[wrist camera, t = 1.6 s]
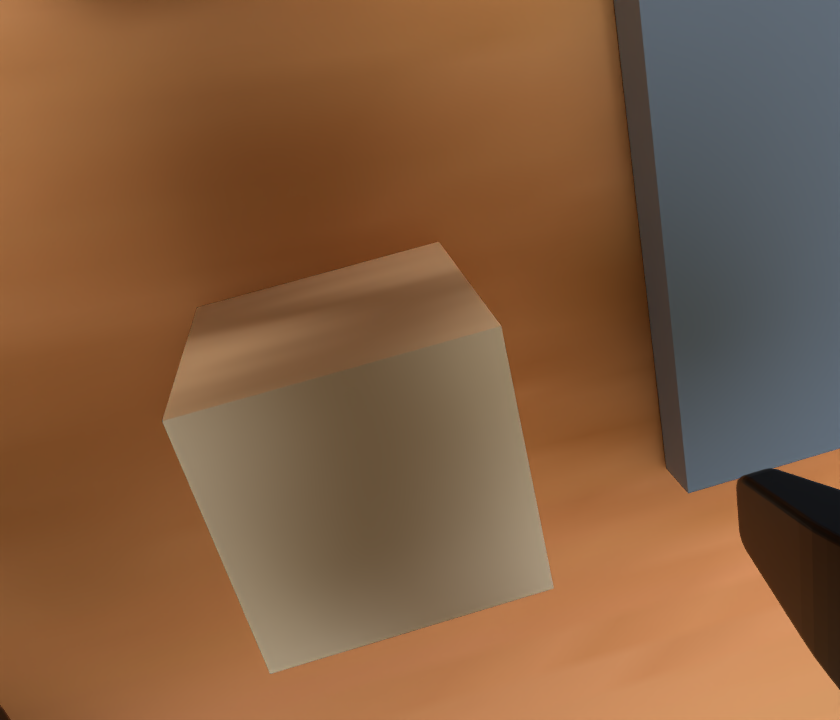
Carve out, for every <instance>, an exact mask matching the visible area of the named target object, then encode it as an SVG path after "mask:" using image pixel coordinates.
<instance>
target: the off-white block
mask: <svg viewBox="0 0 840 720" xmlns="http://www.w3.org/2000/svg"><path fill="white" fill-rule="evenodd" d="M162 422H163V425H164V427H165V429H166V432H167V434H168V436H169V439H170V441H171V443H172V446H173V448H174V450H175V453H176V455H177V457H178V460H179V462H180V464H181V467H182V469H183V471H184V474H185V476H186V478H187V481H188V483H189V485H190V488H191V490H192V492H193V495H194V497H195V499H196V502H197V504H198V506H199V509H200V511H201V514H202V516H203V518H204V521H205V523H206V525H207V528H208V530H209V532H210V535H211V537H212V539H213V542H214V544H215V546H216V549H217V551H218V553H219V556H220V558H221V560H222V563H223V565H224V567H225V570H226V572H227V574H228V577H229V579H230V581H231V584H232V586H233V588H234V591H235V593H236V595H237V598H238V600H239V602H240V605H241V607H242V609H243V612H244V614H245V616H246V619H247V621H248V623H249V626H250V628H251V630H252V633H253V635H254V637H255V640H256V642H257V644H258V647H259V649H260V651H261V654H262V656H263V658H264V661H265V663H266V665H267V668H268V670H269V672H270V674H272V673H275V672H279V671H282V670H285V669H289V668H292V667H295V666H299V665H302V664H305V663H308V662H312V661H315V660H318V659H322V658H325V657H328V656H332V655H335V654H338V653H342V652H345V651H348V650H352V649H355V648H358V647H362V646H365V645H368V644H371V643H375V642H378V641H381V640H385V639H388V638H391V637H395V636H398V635H401V634H405V633H408V632H411V631H415V630H418V629H421V628H424V627H428V626H431V625H434V624H438V623H441V622H444V621H448V620H451V619H454V618H458V617H461V616H464V615H468V614H471V613H474V612H478V611H481V610H484V609H487V608H491V607H494V606H497V605H501V604H504V603H507V602H511V601H514V600H517V599H521V598H524V597H527V596H531V595H534V594H537V593H540V592H544V591H547V590H550V589H554V587H553V582H552V577H551V572H550V567H549V562H548V557H547V552H546V547H545V542H544V537H543V532H542V527H541V522H540V517H539V512H538V507H537V502H536V497H535V492H534V487H533V482H532V477H531V472H530V467H529V462H528V457H527V452H526V447H525V442H524V437H523V432H522V427H521V422H520V417H519V412H518V407H517V402H516V397H515V392H514V387H513V382H512V377H511V372H510V367H509V362H508V357H507V352H506V347H505V342H504V337H503V332H502V327H501V325H500V324H499V322H498V321H497V319H496V318H495V317H494V315H493V314H492V313H491V311H490V310H489V309H488V307H487V306H486V305H485V303H484V302H483V301H482V299H481V298H480V297H479V295H478V294H477V292H476V291H475V290H474V288H473V287H472V286H471V284H470V283H469V282H468V280H467V279H466V278H465V276H464V275H463V274H462V272H461V271H460V270H459V268H458V267H457V265H456V264H455V263H454V261H453V260H452V259H451V257H450V256H449V255H448V253H447V252H446V251H445V249H444V248H443V247H442V245H441V244H440V243H439V242H435V243H432V244H428V245H424V246H421V247H417V248H413V249H410V250H406V251H402V252H399V253H395V254H391V255H387V256H384V257H380V258H376V259H373V260H369V261H365V262H362V263H358V264H354V265H351V266H347V267H343V268H340V269H336V270H332V271H329V272H325V273H321V274H318V275H314V276H310V277H307V278H303V279H299V280H296V281H292V282H288V283H285V284H281V285H277V286H274V287H270V288H266V289H263V290H259V291H255V292H252V293H248V294H244V295H241V296H237V297H233V298H230V299H226V300H222V301H219V302H215V303H211V304H208V305H204V306H200V307H197V309H196V312H195V315H194V319H193V322H192V325H191V328H190V332H189V335H188V338H187V341H186V345H185V348H184V351H183V354H182V358H181V361H180V364H179V367H178V371H177V374H176V377H175V380H174V384H173V387H172V390H171V393H170V397H169V400H168V403H167V406H166V410H165V413H164V416H163V419H162Z"/></svg>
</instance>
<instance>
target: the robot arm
mask: <svg viewBox="0 0 840 720" xmlns="http://www.w3.org/2000/svg"><path fill="white" fill-rule="evenodd" d="M736 491H737V506H738V520H739V532H740V537H741V540H742V543H743V545H744V547H745V549H746V551H747V553H748V554H749V556H750V557H751V559H752V560H753V562H754V564H755V565H756V567H757V568H758V570H759V572H760V573H761V575H762V576H763V578H764V579H765V581H766V583H767V584H768V586H769V587H770V589H771V590H772V592H773V594H774V595H775V597H776V598H777V600H778V601H779V603H780V605H781V606H782V608H783V609H784V611H785V612H786V614H787V616H788V617H789V619H790V620H791V622H792V623H793V625H794V627H795V628H796V630H797V631H798V633H799V635H800V636H801V638H802V639H803V641H804V642H805V644H806V645H807V647H808V648H809V650H810V651H811V653H812V654H813V656H814V657H815V658H816V660H817V661H818V662H819V664H820V665H821V666H822V668H823V669H824V670H825V672H826V673H827V674H828V676H829V677H830V678H831V679H832V681H833V682H834V683H835V684H836V686H837V687H838V688H839V689H840V490H839V489H836V488H833V487H830V486H826V485H823V484H820V483H817V482H814V481H811V480H808V479H805V478H802V477H799V476H796V475H793V474H789V473H786V472H783V471H780V470H777V469H773V468H767V469H763V470H760V471H756V472H753V473H750V474H746V475H743V476H741V477H740V478H739V480H738V481H737V487H736ZM0 720H10V718H9V717H8V715H7V714H6V712H5V710H4V709H3V708H2V707H1V705H0Z"/></svg>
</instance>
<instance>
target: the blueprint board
mask: <svg viewBox="0 0 840 720" xmlns="http://www.w3.org/2000/svg"><path fill="white" fill-rule="evenodd" d="M614 7H615V16H616V25H617V34H618V43H619V52H620V61H621V70H622V78H623V87H624V96H625V105H626V114H627V123H628V132H629V141H630V149H631V158H632V167H633V176H634V185H635V194H636V203H637V212H638V220H639V229H640V238H641V247H642V256H643V265H644V274H645V283H646V292H647V300H648V309H649V318H650V327H651V336H652V345H653V354H654V363H655V371H656V380H657V389H658V398H659V407H660V416H661V425H662V434H663V442H664V451H665V460H666V468H667V470H668V471H669V472H670V473H671V474H672V475H673V476H674V478H675V479H676V480H677V481H678V482H679V483H680V484H681V486H682V487H683V488H684V489H685V490H686V491H687V492H688V493H691V492H695V491H698V490H701V489H705V488H708V487H711V486H715V485H718V484H721V483H725V482H728V481H732V480H735V479H738V478H740V477H741V476H743V475H746V474H750V473H753V472H756V471H760V470H763V469H767V468H775V467H779V466H782V465H785V464H789V463H792V462H795V461H799V460H802V459H806V458H809V457H812V456H816V455H819V454H822V453H826V452H829V451H833V450H836V449H839V448H840V0H614Z"/></svg>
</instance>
